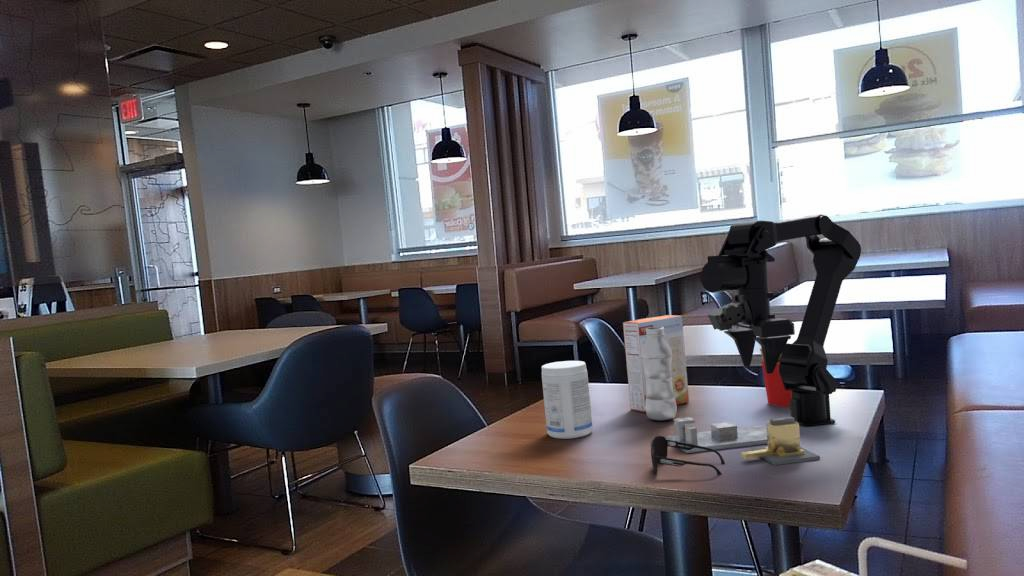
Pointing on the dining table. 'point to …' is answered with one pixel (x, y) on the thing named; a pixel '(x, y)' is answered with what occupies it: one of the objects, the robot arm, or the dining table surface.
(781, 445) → the gold rounded piece
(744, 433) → the lock base
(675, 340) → the cracker box
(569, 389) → the supplement tub
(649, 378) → the plastic bottle
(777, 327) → the robot arm
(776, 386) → the french fries
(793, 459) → the mat
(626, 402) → the dining table surface
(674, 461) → the sunglasses
